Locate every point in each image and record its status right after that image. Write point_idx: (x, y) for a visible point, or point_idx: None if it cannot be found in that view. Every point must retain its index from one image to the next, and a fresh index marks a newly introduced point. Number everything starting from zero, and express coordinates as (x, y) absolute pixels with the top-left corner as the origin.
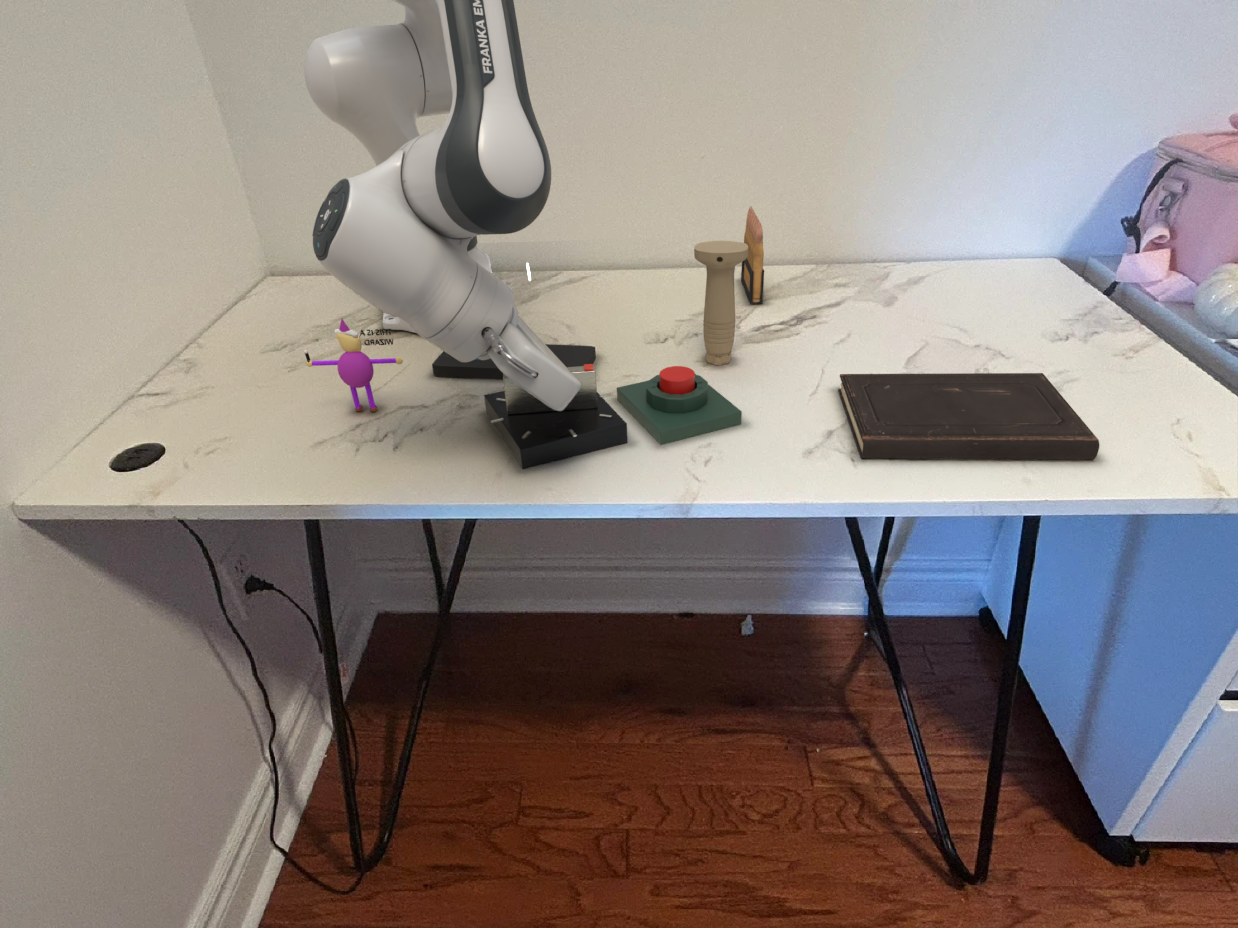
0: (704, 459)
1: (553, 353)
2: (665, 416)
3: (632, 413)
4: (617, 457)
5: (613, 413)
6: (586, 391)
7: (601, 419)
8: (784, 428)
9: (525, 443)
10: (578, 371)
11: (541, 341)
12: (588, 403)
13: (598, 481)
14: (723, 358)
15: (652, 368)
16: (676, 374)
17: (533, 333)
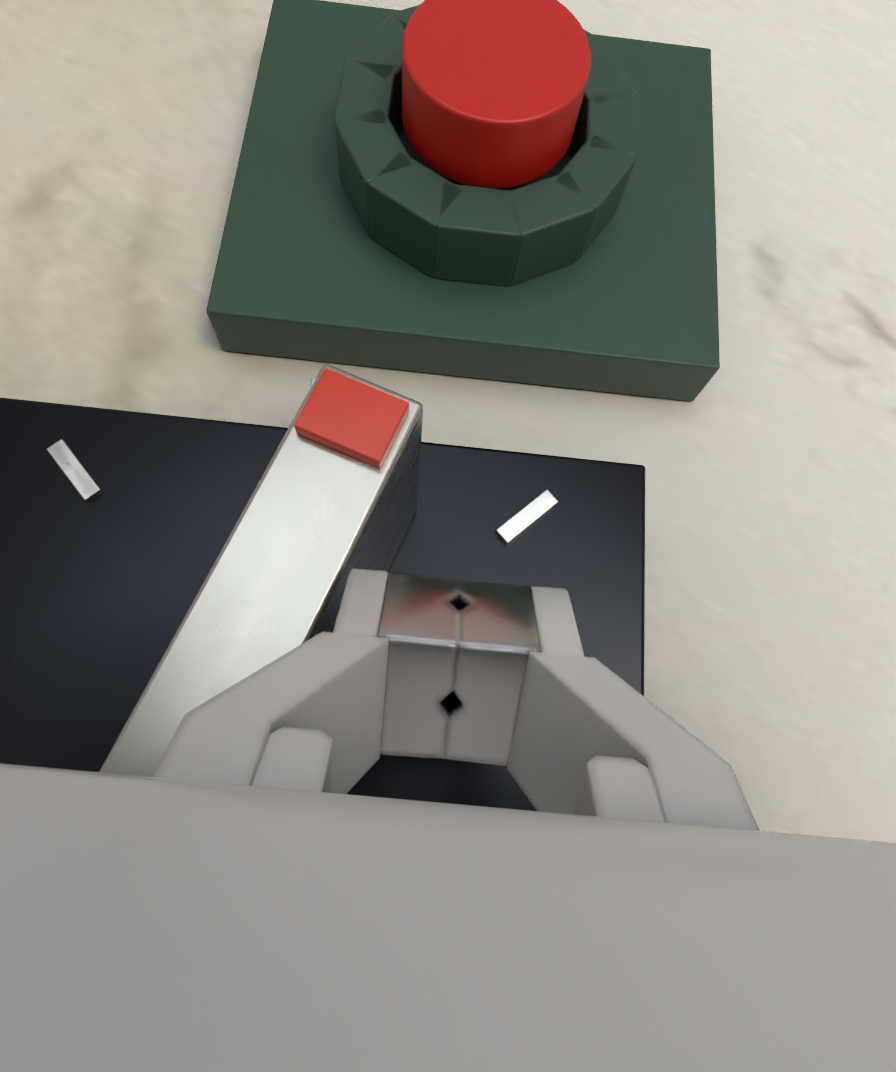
0: (858, 327)
1: (864, 910)
2: (601, 283)
3: (402, 363)
4: (699, 598)
5: (513, 468)
6: (394, 522)
7: (542, 549)
8: (774, 19)
9: None
10: (357, 507)
11: (399, 924)
12: (397, 541)
13: (853, 770)
14: None
15: (49, 91)
16: (507, 55)
17: (26, 941)
